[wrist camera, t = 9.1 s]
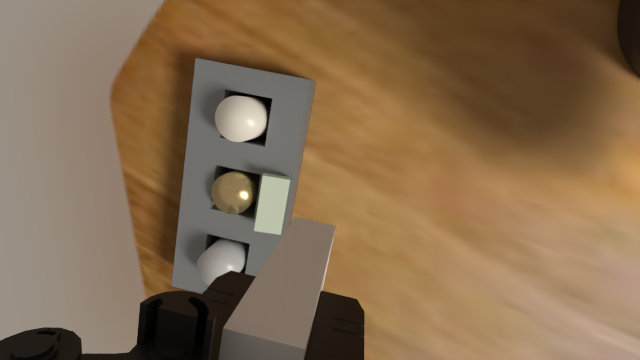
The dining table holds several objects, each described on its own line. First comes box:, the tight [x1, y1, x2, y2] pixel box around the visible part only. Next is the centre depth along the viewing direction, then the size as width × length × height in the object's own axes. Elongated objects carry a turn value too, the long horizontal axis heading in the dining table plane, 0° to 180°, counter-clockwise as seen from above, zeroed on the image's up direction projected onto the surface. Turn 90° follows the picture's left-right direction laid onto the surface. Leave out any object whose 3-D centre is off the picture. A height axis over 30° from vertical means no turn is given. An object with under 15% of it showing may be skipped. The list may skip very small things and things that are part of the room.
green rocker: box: [254, 173, 290, 235], centre depth 37 cm, size 6×3×2 cm, turn 169°
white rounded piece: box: [215, 96, 271, 142], centre depth 37 cm, size 4×4×5 cm
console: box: [172, 58, 316, 294], centre depth 41 cm, size 26×12×4 cm, turn 169°
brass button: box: [211, 169, 260, 214], centre depth 40 cm, size 4×4×5 cm
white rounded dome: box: [197, 237, 250, 285], centre depth 41 cm, size 4×4×5 cm
